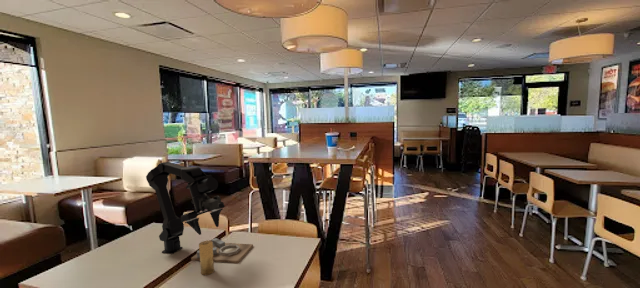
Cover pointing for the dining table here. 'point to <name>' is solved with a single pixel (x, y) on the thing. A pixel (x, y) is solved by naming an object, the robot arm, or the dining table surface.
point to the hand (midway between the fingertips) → (209, 230)
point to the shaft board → (226, 251)
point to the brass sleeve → (206, 257)
